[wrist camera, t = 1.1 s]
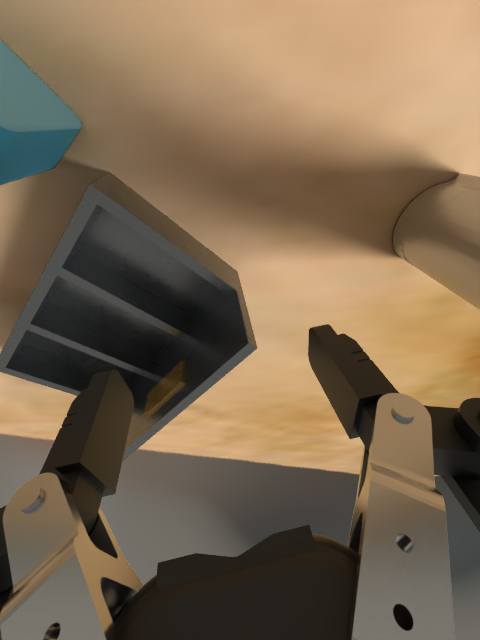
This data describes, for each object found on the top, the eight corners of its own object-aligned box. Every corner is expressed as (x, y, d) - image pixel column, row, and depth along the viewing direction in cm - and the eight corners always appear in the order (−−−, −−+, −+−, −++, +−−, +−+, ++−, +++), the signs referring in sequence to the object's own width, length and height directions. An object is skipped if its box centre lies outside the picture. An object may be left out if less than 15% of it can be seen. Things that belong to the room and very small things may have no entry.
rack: (109, 172, 23) (35, 214, 13) (237, 271, 31) (257, 348, 20) (19, 336, 33) (-66, 438, 22) (134, 380, 41) (111, 470, 30)
